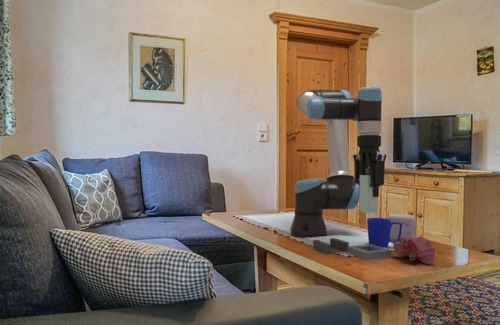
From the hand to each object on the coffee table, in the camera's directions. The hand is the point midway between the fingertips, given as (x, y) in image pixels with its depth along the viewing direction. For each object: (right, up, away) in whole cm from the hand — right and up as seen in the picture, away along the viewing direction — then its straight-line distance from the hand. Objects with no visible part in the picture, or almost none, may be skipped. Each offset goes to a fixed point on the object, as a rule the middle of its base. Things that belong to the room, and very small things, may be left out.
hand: (368, 206), depth 128 cm
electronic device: (+20, -16, +25) cm, 36 cm away
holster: (-11, -16, +6) cm, 21 cm away
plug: (0, -2, 0) cm, 2 cm away
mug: (+10, -17, +14) cm, 24 cm away
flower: (+12, -17, -5) cm, 22 cm away
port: (0, -17, +1) cm, 17 cm away
